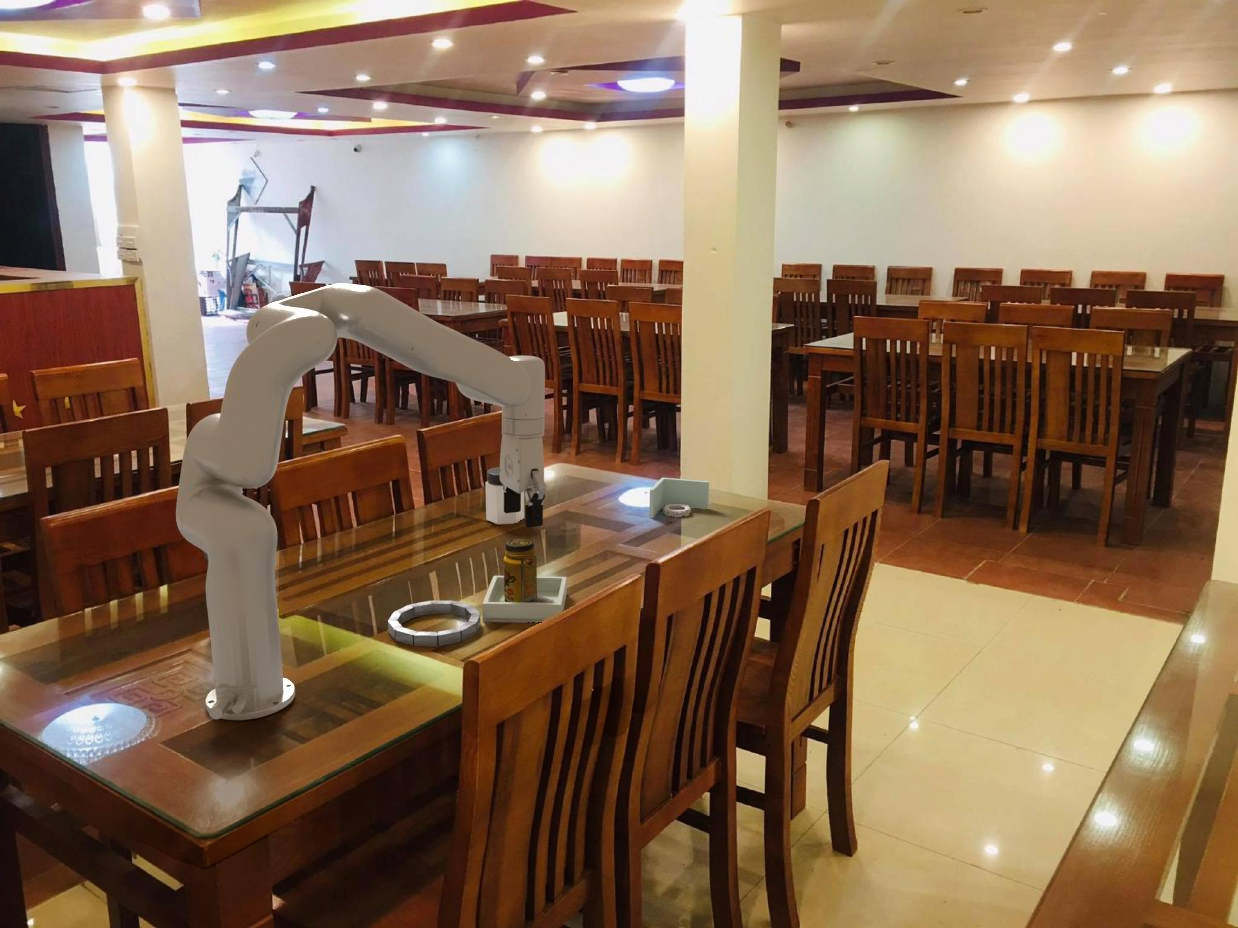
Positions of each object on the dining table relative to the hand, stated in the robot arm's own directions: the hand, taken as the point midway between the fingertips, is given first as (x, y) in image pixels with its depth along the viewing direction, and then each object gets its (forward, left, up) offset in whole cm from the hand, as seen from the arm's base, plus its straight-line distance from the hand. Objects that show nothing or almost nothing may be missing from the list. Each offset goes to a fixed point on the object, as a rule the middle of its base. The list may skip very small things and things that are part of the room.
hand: (522, 519), depth 182 cm
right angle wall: (+62, -31, -18) cm, 71 cm away
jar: (+54, +11, -18) cm, 58 cm away
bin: (0, 0, -17) cm, 17 cm away
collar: (-10, +15, -17) cm, 25 cm away
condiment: (0, 0, -17) cm, 17 cm away
